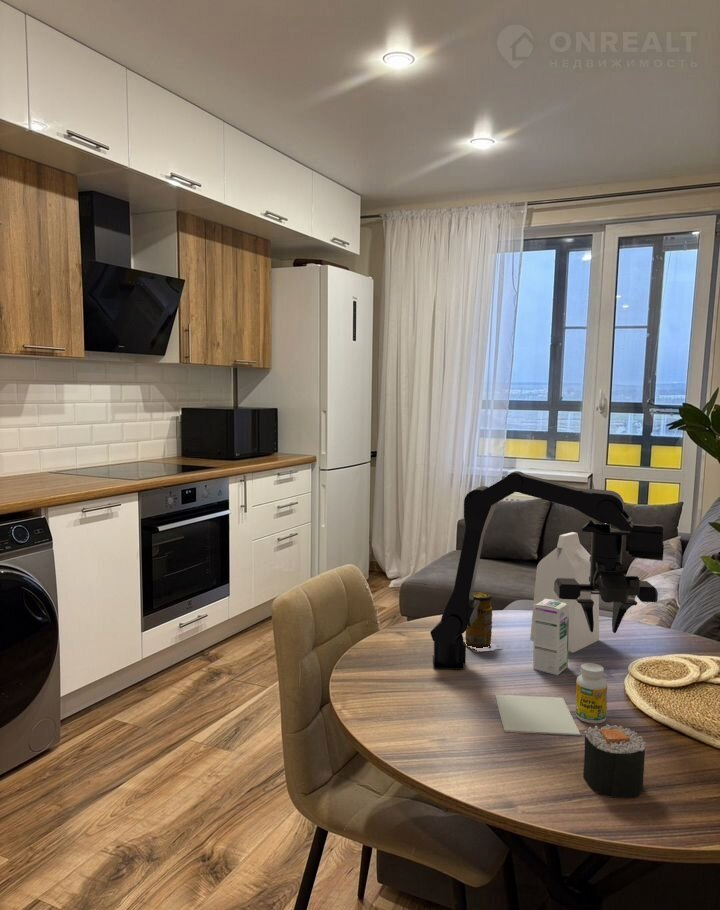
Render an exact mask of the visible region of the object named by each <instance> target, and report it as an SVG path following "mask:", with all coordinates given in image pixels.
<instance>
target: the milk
mask: <svg viewBox="0 0 720 910" xmlns="http://www.w3.org/2000/svg"><path fill="white" fill-rule="evenodd" d="M590 556H591V553H589V552H588V551H587V549H586V547H585V548H584V546H583V545H582V544H581V542H580V538H579V534H578V532H574V531H570V532H568V533H563V534H560V535H559V537H558V540H557V545H556V548H554V549H553V550H552V551H551V552H549V553H547V554H546V556H544V557H543V558H541V560H540V561H539V562H538V564H537V566H536V573H535V583H534V593H533V606H532V615H531V627H530V636H529V639H530V640H532V639H533V640H532V641H534V605H536V604H537V603H539V602H541V601H543V600H544V599H552V600H559V601H563V602H566V603H569V630H568V652H569V653H576V652H578V651H579V650H582V649H583V648H586V647H588V646H590V645H591V644H594V643H596V642H598V641H599V640H600V608H599V607H600V602H599V601H600V594H591V599H592V600H593V601H594V605H593V621H594V628H593V632H591V631H590V629H589V626H588V623H587V620H586V617H585V614H584V611H583V608H582V606H581V604H580V603H578V602H577V601H576V600H573V599H560V598H559V597H558V596H557V594H556V593H555V592H554V582H555V580H556V579H557V578H569V579H575V580H576V581H577V582H578V584H590V582H589V576H590V564H591V562H590Z"/></svg>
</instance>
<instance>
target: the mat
mask: <svg viewBox="0 0 720 910" xmlns="http://www.w3.org/2000/svg"><path fill="white" fill-rule="evenodd" d="M494 697H495V701H496V704H497V709H498V712H499V717H500V721H501V724H502V727H503V732H504V733H519V734H537V735H538V734H540V735H543V734H544V735H559V736H560V735H561V736H581V732H580V731H579V728H578V725H576V722H575V720H574V718H573V716H572V713H571V712H570V709H569V707H568V706H567V704H566V702H565V699H564V697H557V696H556V697H554V696H553V697H551V696H532V695H531V696H530V695H512V694H511V695H508V694H494Z"/></svg>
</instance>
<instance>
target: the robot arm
mask: <svg viewBox="0 0 720 910" xmlns="http://www.w3.org/2000/svg"><path fill="white" fill-rule="evenodd" d="M514 493H519V494H523V495H526V496H529V497H532V498H537V499H541V500H544V501H548V502H551V503H554V504H558V505H562V506H565V507H569V508H572V509H574V510H577V511H578V512H579V513H582V514H584V515H585V516H587V517H590V519H589V520H588V521H587V523H586V524H583V526H582V527H581V531H582V533H583V532H584V533H591V540H590V541H591V543H590V544H591V546H590V555H591V556H590V562H591V564H590V576H589V582H590V584H578V582H577V581H576V580H575V579H569V578H557V579H556V580H555V582H554V592H555V593H556V594H557V596H558V597H559V598H560V599H573V600H576V601H577V602H578V603H580V604H581V606H582V608H583V611H584V614H585V617H586V620H587V623H588V626H589V629H590V631H591V632H593V628H594V621H593V605H594V601H593V600H592V599H591V594H599V597H600V599H601V601H602V602H604V603H608V604H610V603H612V604H613V605H612V617H611V629H612V633H613V634H617V632H618V629H619V627H620V625H621V623H622V621H623V618H624V617H625V614H626V613H627V611H628V609H630V608H632V607H634V606H637V605H638V602H637V601H636V598H638V600H639V601H640V603H641V602H642V603H657V602H658V595H659V592H658V590H657V588H656V587H655V586H654V585H653V584H651V583H650V582H649V581H647V580H640V578H639V576H638V575H637V576H635V575H625V574H624V564H623V563H622V560H623V559H622V558H623V557H622V554H623V537H624V536H625V538H626V539H625V553H628V555H629V556H630V555H631V558H632V559H640V560H650V561H651V560H652V561H664V550H665V549H664V548H665V547H664V546H665V543H664V526H663V524H658V523H657V524H656V523H655V524H642V523H634V521H633V519H632V517H631V516H630V515H629V514H628V513H627V511H626V509H625V502H624V499H623V497H622V496H621V495H620V494H619V493H618V492H616V491H613V490H609V489H607V490H606V489H597V488H581V487H580V488H579V487H576V486H570V485H567V484H563V483H560V482H557V481H552V480H548V479H545V478H541V477H538V476H534V475H529V474H526V473H524V472H522V471H519V470H516V471H512V472H510V473H509V474H507V475H506V477H504V478H503V479H501V480H499V481H497V482H495V483H494V484H491V485H490V486H486V485H485V486H484V485H481V486H478V487H476V488H475V489H473V490H471V491H469V492H467V494H466V495H465V496H464V500H463V521H464V527H465V528H464V535H463V539H462V545H461V550H460V555H459V560H458V566H457V570H456V571H457V572H456V575H455V580H454V587H453V591H452V592H451V595H450V597H449V598H448V601H447V604H446V606H445V608H444V610H443V613H442V615H441V617H440V621H439V622H438V623H436V625H435V626H434V627H433V628H432V630H430V636H431V639H432V641H433V655H432V666H433V669H441V670H442V669H443V670H461V671H462V670H464V667H465V666H464V665H465V664H466V663H467V662H466V659H467V656H466V655H467V652H466V651H467V649H466V648H467V647H466V644H465V642H464V641H463V639H464V636H463V634H464V633H466V629H467V628H468V627H470V626H471V625H472V624H473V622H474V621H475V620H476V618H477V608H478V606H479V603H480V601H479V600H474V596H473V592H474V588H475V583H476V579H477V573H478V570H479V569H478V568H479V564H480V557H481V553H482V549H483V543H484V539H485V533H486V530H487V527H488V525H489V523H490V521H491V519H492V517H493V514H494V512H495V510H496V507H497V505H498V503H499V502H500V501H503V500H504V499H505V498H508V497H509V496H511V495H513V494H514ZM595 520H596V521H598V522H596V521H595ZM599 522H600V523H599ZM612 525H613V527H612ZM614 527H615V528H614Z"/></svg>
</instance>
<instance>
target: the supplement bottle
mask: <svg viewBox="0 0 720 910" xmlns="http://www.w3.org/2000/svg"><path fill="white" fill-rule="evenodd" d="M579 672H580V675H578V676H577V678H576V681H575V683H576V685H575V686H576V687H575V689H576V690H575V691H576V692H575V716H576V717H577V718H578V719H579V720H580V721H581V722H584V723H587V724H592V725H596V724H602V723H605V721H606V719H607V708H608V707H607V704H608V681H607V680H606V679H605V678H604V676H605V669H604V667H603V666H602V665H600V664H597V663H593V662H585V663H582V664H581V665H580V671H579Z"/></svg>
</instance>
